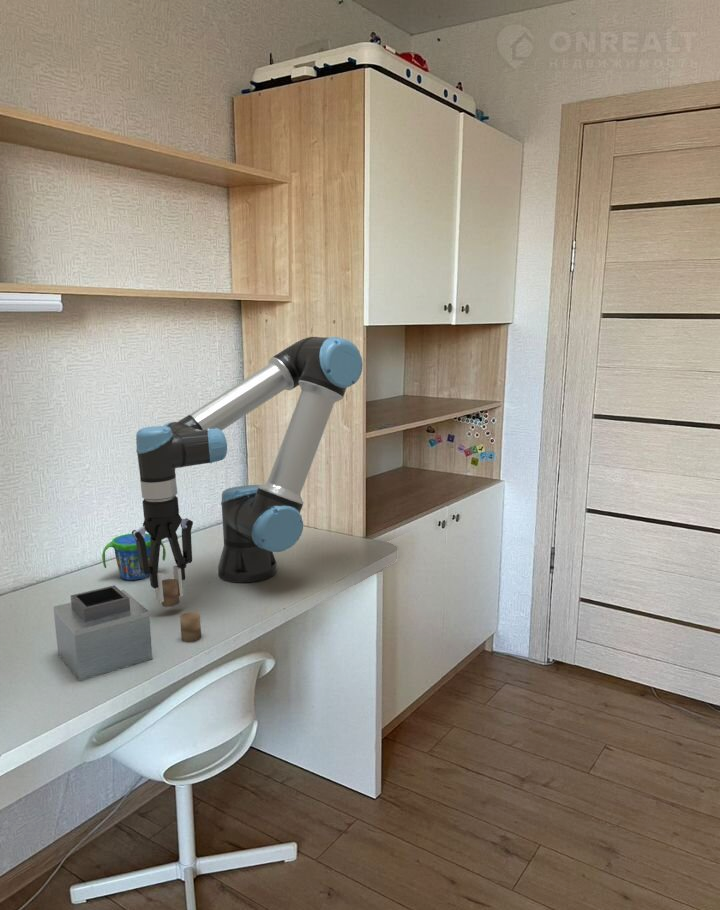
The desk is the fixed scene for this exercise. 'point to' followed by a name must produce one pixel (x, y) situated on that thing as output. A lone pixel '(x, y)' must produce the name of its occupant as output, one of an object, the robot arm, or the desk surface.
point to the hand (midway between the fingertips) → (169, 597)
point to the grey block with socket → (102, 632)
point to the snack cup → (129, 555)
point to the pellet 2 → (190, 627)
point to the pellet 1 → (170, 592)
